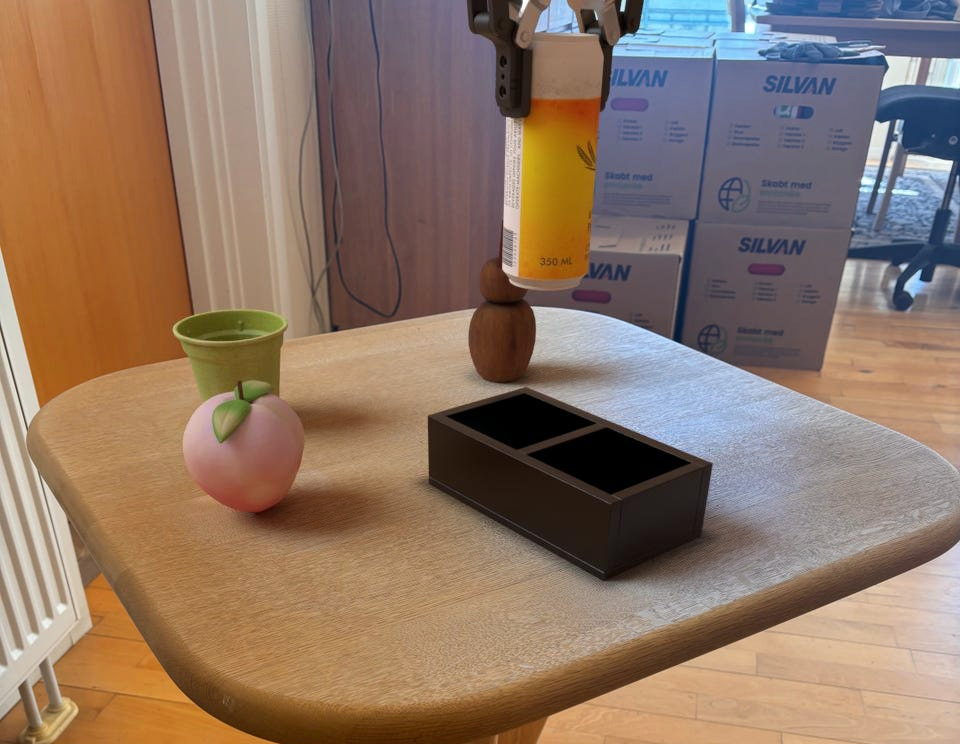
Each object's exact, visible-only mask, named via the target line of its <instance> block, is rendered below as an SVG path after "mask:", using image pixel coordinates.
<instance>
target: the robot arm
mask: <svg viewBox="0 0 960 744" xmlns="http://www.w3.org/2000/svg"><path fill="white" fill-rule="evenodd" d="M551 2H552V0H466V9H467V20H468V21H467V22H468V23H467V24H468V28H469V31H470V32H471V33H472V34H473V35H480V36H482V37H484V38H485V39H487V40H489V41H490V42H491V43H492V44H493V46H494V48H495V80H494V81H495V82H494V83H495V87H494V89H495V90H494V92H495V93H494V98H495V103H496V106H497V107H498V109H499V114H500V115H501V116H502V117H504V118H506V117H510V118H516V119H518V118H527V117H528V116H529V114H530V104H531V78H532V53H533V50H527V49H526V48H527V47H528V46H529V45H530V43H531V40H532V38H533V35H534V32H536V30H537V26H538V23H539V20H540V18H541V15H542V13H543V12H544V11H546V10H547V9H548V8H549V7H550V5H551ZM566 3H567V5H568V7H569V8H570V9H571V10H572V11H573V12H574V14H575V18H576V22H577V26H578V30H579V33H583V34H596V35H599V43H600V46H601V49H602V53H603V56H604V61H603V74H602V88H601V101H600V113H602V112H604V111H605V109H606V104H607V102H608V99H609V97H610V92H611V91H610V90H611V78H612V69H613V68H612V67H613V64H612V63H613V56H614V55H613V53H614V47H615V46H616V45H617V44H618V43H619V41H620V39H621V38H623V37H625V36H626V35H635V34H636V33H638V31H639V29H640V26H641V23H642V22H641V21H642V16H643V9H644V3H645V0H625V4H624V9H623V10H621V8H622V3H623V0H566Z"/></svg>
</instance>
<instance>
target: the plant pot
mask: <svg viewBox="0 0 960 744" xmlns="http://www.w3.org/2000/svg"><path fill="white" fill-rule="evenodd" d="M288 325H289V322H288V319H287V318H286V317H284V316H283V315H281V314H278V313H276V312H273V311H267V310H262V309H254V308H253V309H250V308H235V309H220V310H219V309H217V310H211V311H208V312H207V311H205V312H201V313H197V314H194V315H190V316H188V317H185V318H183V319H181V320H179V321H178V322H177V321H176V323H175V324H174V325H173V327H172V333H173V335H174V338H177V339H178V340H179V342H180V345H181V346H182V349H183V351H184V353H185V354H186V355H187V357H188V360H189V363H190V366H191V367H190V368H191V371H192V373H193V376H194V380H195V383H196V386H197V389H198V393H199V395H200V399H201V402H202V404H203V403H204V402H205V401H207V400H208V399H210V398H212V397H214V396H216V395H219V394H223V393H227V392H232V391H234V388H235V387H236V386H237V380H241V381H242V383H243V382H246V381H253V380H255V381H262V382H265V383H268V384H270V385H272V386H273V387H274V390H272V391H270V392H269V393H271V394H273V395H276V396H278V397H279V398H280V385H281V383H280V382H281V381H280V380H281V352H282V351H281V350H282V346H283V345H284V336H285V335H284V334H285V332H286V331H287V330H288V327H289V326H288Z"/></svg>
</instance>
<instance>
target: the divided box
mask: <svg viewBox="0 0 960 744" xmlns="http://www.w3.org/2000/svg"><path fill="white" fill-rule="evenodd" d="M427 451H428V453H427V455H428V456H427V458H428V459H427V460H428V462H427V463H428V464H427V465H428V485H430V486H431V487H433V488H435V489H437V490H438V491H440V492H442V493H444V494H446V495H447V496H449V497H451V498H453V499H455V500H456V501H458V502H460V503H462V504H464V505H466V506H467V507H469V508H471V509H473V510H474V511H476V512H478V513H480V514H481V515H484V516H485V517H487V518H489V519H491V520H493V521H494V522H496V523H498V524H499V525H501V526H503V527H505V528H507V529H509V530H510V531H512V532H514V533H516V534H518V535H519V536H521V537H523V538H524V539H526V540H528V541H530V542H532V543H534V544H536V545H537V546H539V547H541V548H543V549H544V550H546V551H548V552H550V553H552V554H554V555H555V556H556V557H559V558H561V559H562V560H564V561H566V562H568V563H569V564H571V565H574V566H575V567H577V568H579V569H580V570H582V571H584V572H586V573H587V574H590V575H591V576H593V577H595V578H597V579H598V580H601V581H603V582H605V581H608V580H610V579H612V578H614V577H616V576H618V575H621V574H623V573H625V572H627V571H629V570H632V569H633V568H636V567H638V566H640V565H643V564H645V563H647V562H649V561H651V560H653V559H655V558H657V557H660V556H662V555H665V554H666V553H668V552H671V551H673V550H675V549H677V548H681V547H682V546H684V545H687V544H688V543H690V542H693V541H695V540H697V539H699V538H702V533H703V527H704V521H705V515H706V510H707V504H708V503H707V502H708V497H709V491H710V484H711V479H712V471H713V465H714V463H713V462H710V461H708V460H706V459H703V458H700V457H698V456H695V455H693V454H691V453H688V452H687V451H683V450H681V449H679V448H677V447H675V446H672V445H669V444H666V443H664V442H662V441H659V440H657V439H654V438H651V437H649V436H647V435H645V434H642V433H640V432H637V431H635V430H632V429H630V428H627V427H625V426H623V425H620V424H617V423H615V422H613V421H611V420H608V419H606V418H603V417H601V416H599V415H596V414H594V413H591V412H588V411H586V410H584V409H581V408H579V407H577V406H574V405H571V404H568V403H566V402H564V401H561V400H559V399H556V398H554V397H553V396H549V395H547V394H544V393H542V392H539V391H537V390H534V389H532V388H530V387H528V386H525V387H521V388H517V389H514V390H511V391H508V392H504V393H500V394H497V395H494V396H490V397H487V398H483V399H480V400H476V401H473V402H468V403H466V404H462V405H459V406H455V407H451V408H448V409H445V410H441V411H438V412H434V413H431V414H428V415H427Z"/></svg>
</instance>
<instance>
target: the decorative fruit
mask: <svg viewBox="0 0 960 744" xmlns="http://www.w3.org/2000/svg"><path fill="white" fill-rule="evenodd" d="M272 390H274V387H273V386H272V385H270V384H268V383H265V382H262V381H255V380H253V381H246V382H243V383H242V381H241V380H237V386H236V387H235V388H234V391H232V392H227V393H223V394H219V395H216V396H214V397H212V398H210V399H208V400H207V401H205V402H204V403H203V402H202V404H201V405H199V406H198V407H197V408H196V410H194V412H193V414H192V415H191V417H190V419H189V420H188V422H187V425H186V427H185V430H184V432H183V436H182V452H183V453H182V454H183V459H184V463H185V466H186V468H187V471H188V473H189V474H190V476H191V478H192V479H193V481H194V482H195V483H196V485H197V486H199V488H200V489H201V490H202V491H203V492H204V493H205V494H207V495H208V496H210V497H211V498H212V499H213V500H215V501H217V502H218V503H220V504H221V505H222V506H225V507H228V508H230V509H232V510H236V511H239V512H245V513H261V512H263V511H266V510H268V509H270V508H271V507H273V506H275V505H277V503H280V502H281V501H282V500H283V499H284V498H285V497H286V495H287V494H288V493H289V492H290V489H291V488H292V487H293V485H294V483H295V480H296V477H297V474H298V472H299V469H300V467H301V464H302V461H303V460H302V459H303V454H304V448H305V440H306V439H305V429H304V425H303V424H302V423H303V422H302V421H301V419H300V417H299V415H298V414H297V413H296V411H295V410H294V409H293V407H292V406H291V405H290V404H289V403H288V402H287V401H285V400H284V399H282V398H281V397H280V396H279V397H278V396H276V395H273V394H271V393H269V392H270V391H272Z"/></svg>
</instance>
